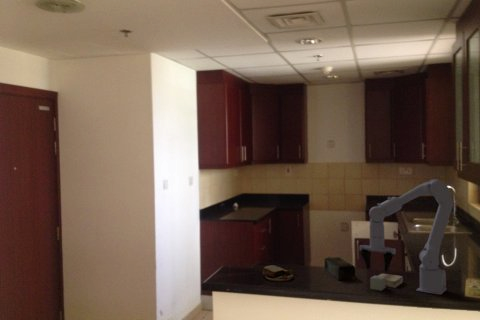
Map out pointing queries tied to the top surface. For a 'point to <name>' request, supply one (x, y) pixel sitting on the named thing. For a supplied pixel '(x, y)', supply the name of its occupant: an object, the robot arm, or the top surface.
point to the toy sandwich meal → (277, 273)
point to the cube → (377, 283)
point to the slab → (392, 280)
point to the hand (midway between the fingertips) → (377, 269)
